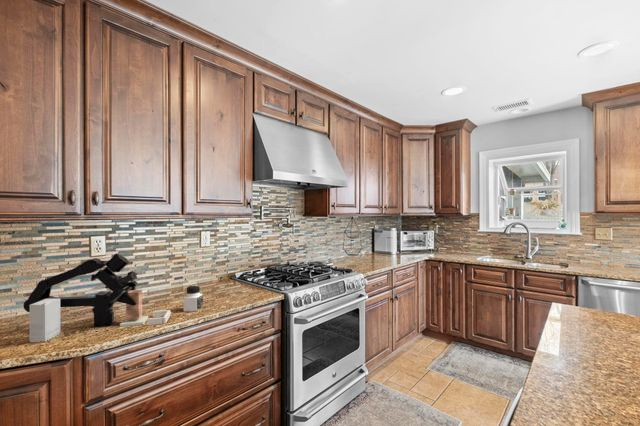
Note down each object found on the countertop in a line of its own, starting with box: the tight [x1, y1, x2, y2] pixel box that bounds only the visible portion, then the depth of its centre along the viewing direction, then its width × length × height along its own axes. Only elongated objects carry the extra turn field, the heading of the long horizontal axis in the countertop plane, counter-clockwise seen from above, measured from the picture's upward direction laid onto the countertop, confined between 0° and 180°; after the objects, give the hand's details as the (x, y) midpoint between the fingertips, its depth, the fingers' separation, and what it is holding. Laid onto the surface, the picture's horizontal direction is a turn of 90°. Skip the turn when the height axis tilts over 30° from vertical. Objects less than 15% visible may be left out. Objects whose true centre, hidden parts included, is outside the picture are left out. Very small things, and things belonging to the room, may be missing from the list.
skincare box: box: [29, 299, 61, 343], centre depth 121 cm, size 8×6×15 cm
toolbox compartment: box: [146, 309, 171, 326], centre depth 142 cm, size 7×12×2 cm, turn 16°
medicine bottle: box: [183, 284, 204, 312], centre depth 157 cm, size 7×7×12 cm
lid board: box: [119, 315, 149, 328], centre depth 139 cm, size 9×9×1 cm
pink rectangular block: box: [125, 289, 143, 320], centre depth 139 cm, size 5×5×12 cm
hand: (137, 303), depth 139 cm, fingers closed on pink rectangular block, 5 cm apart
